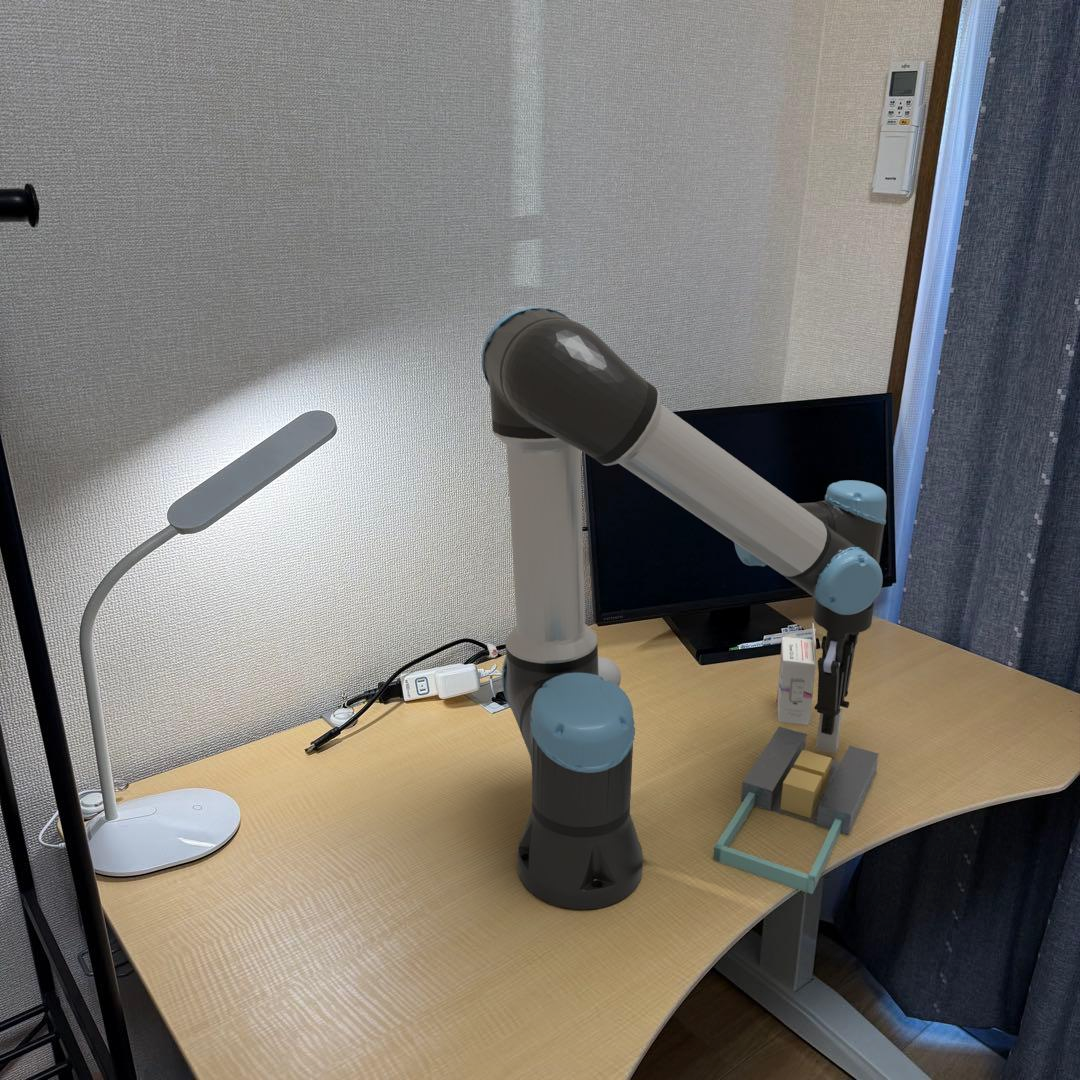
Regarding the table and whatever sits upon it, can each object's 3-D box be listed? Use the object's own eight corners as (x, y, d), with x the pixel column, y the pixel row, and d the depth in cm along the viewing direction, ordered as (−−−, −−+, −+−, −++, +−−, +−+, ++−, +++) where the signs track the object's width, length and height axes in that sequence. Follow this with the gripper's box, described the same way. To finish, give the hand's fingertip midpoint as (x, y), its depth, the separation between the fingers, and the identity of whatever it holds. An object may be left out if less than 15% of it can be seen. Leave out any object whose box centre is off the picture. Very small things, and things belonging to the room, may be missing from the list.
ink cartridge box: (774, 701, 154) (782, 618, 149) (806, 704, 153) (815, 620, 148) (776, 728, 146) (784, 641, 141) (809, 732, 145) (819, 645, 140)
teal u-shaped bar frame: (811, 902, 111) (813, 881, 110) (712, 867, 116) (714, 847, 115) (839, 840, 121) (841, 820, 120) (747, 811, 127) (749, 791, 126)
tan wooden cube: (810, 818, 123) (813, 792, 122) (780, 808, 125) (783, 782, 124) (819, 802, 127) (822, 776, 125) (789, 793, 129) (792, 767, 127)
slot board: (847, 842, 121) (851, 814, 119) (740, 808, 127) (742, 781, 126) (875, 779, 134) (878, 753, 132) (776, 751, 140) (779, 726, 139)
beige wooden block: (821, 798, 128) (824, 772, 126) (791, 789, 129) (794, 763, 128) (828, 783, 131) (831, 758, 129) (799, 774, 133) (802, 749, 131)
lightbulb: (620, 734, 145) (622, 669, 141) (579, 733, 145) (581, 668, 141) (618, 713, 150) (620, 650, 147) (579, 712, 151) (580, 649, 147)
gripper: (862, 620, 121) (842, 779, 129) (884, 585, 131) (864, 734, 140) (803, 607, 124) (787, 763, 133) (829, 575, 135) (812, 721, 143)
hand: (826, 748), depth 136 cm, fingers closed
